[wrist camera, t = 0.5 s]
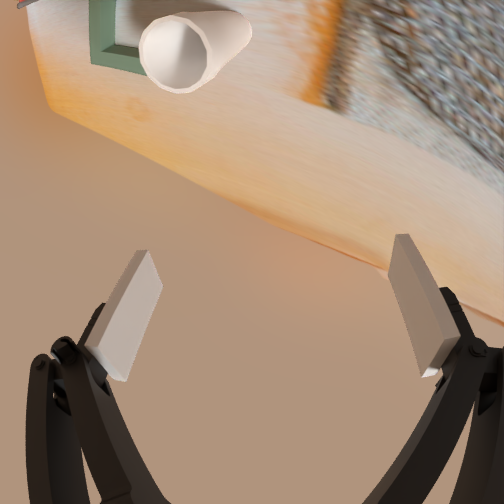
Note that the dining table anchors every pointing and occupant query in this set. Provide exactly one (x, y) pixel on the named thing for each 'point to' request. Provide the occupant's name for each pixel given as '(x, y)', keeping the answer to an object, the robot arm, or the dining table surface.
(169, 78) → the foam cup
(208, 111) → the dining table surface
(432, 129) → the dining table surface
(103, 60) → the putting pocket
